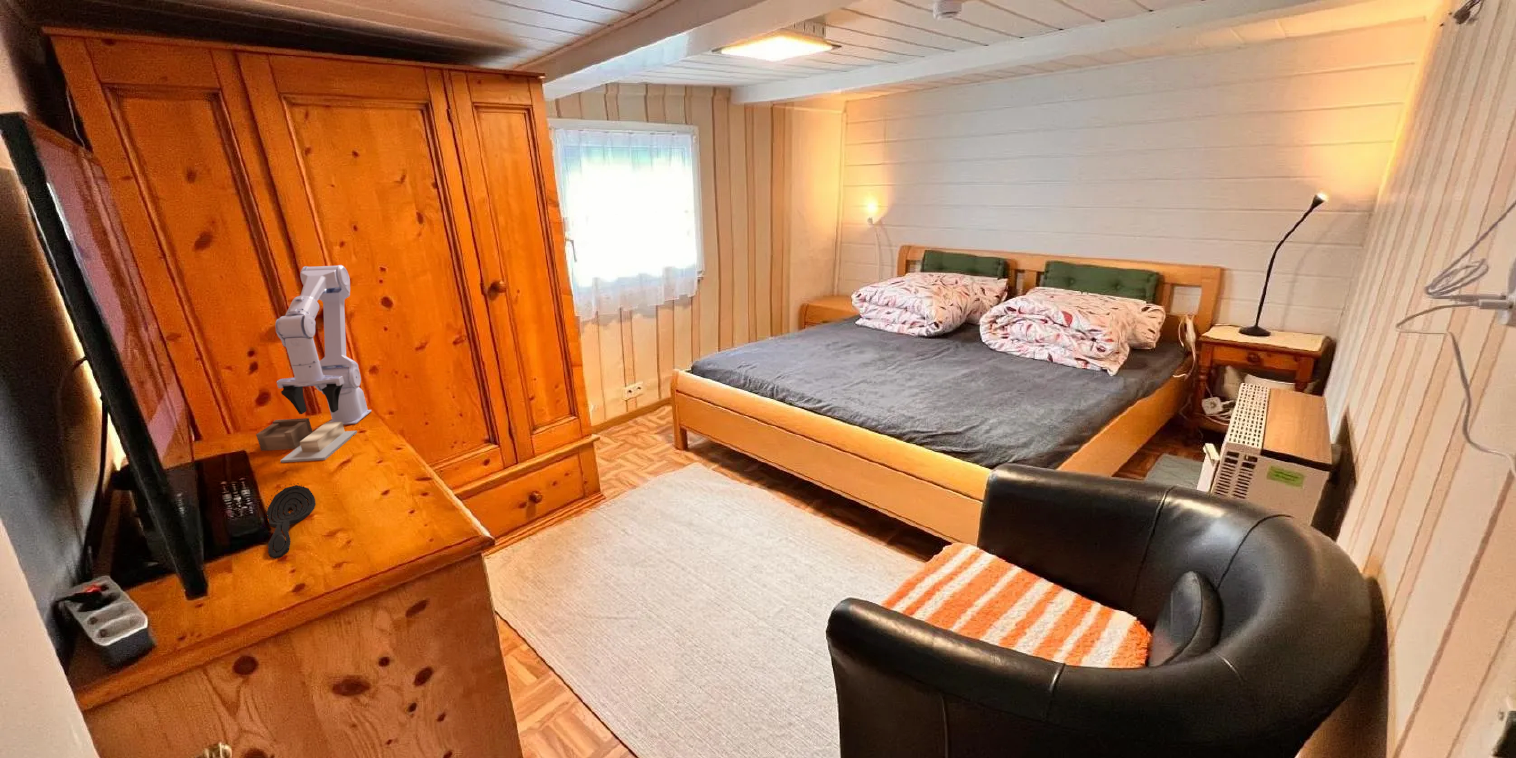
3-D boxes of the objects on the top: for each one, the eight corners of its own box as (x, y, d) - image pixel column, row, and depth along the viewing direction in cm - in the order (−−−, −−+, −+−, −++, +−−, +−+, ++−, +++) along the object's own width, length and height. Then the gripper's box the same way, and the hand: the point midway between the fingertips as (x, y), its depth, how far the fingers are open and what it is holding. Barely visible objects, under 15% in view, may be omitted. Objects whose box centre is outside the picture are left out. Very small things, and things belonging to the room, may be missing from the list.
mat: (317, 434, 159) (316, 432, 158) (357, 432, 160) (356, 430, 160) (280, 462, 144) (280, 460, 144) (325, 459, 145) (324, 457, 145)
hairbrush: (245, 554, 106) (266, 487, 125) (251, 570, 107) (271, 502, 127) (301, 540, 110) (314, 477, 129) (307, 556, 111) (318, 491, 131)
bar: (328, 432, 159) (326, 422, 158) (344, 431, 159) (342, 421, 158) (302, 452, 147) (299, 441, 146) (319, 451, 148) (316, 440, 147)
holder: (281, 436, 158) (276, 419, 156) (313, 435, 159) (308, 418, 157) (261, 450, 150) (255, 433, 148) (295, 448, 151) (290, 431, 149)
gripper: (263, 368, 142) (278, 419, 147) (327, 365, 144) (341, 416, 149) (281, 359, 149) (295, 408, 154) (342, 357, 151) (355, 405, 156)
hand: (319, 411), depth 152 cm, fingers open, 7 cm apart
